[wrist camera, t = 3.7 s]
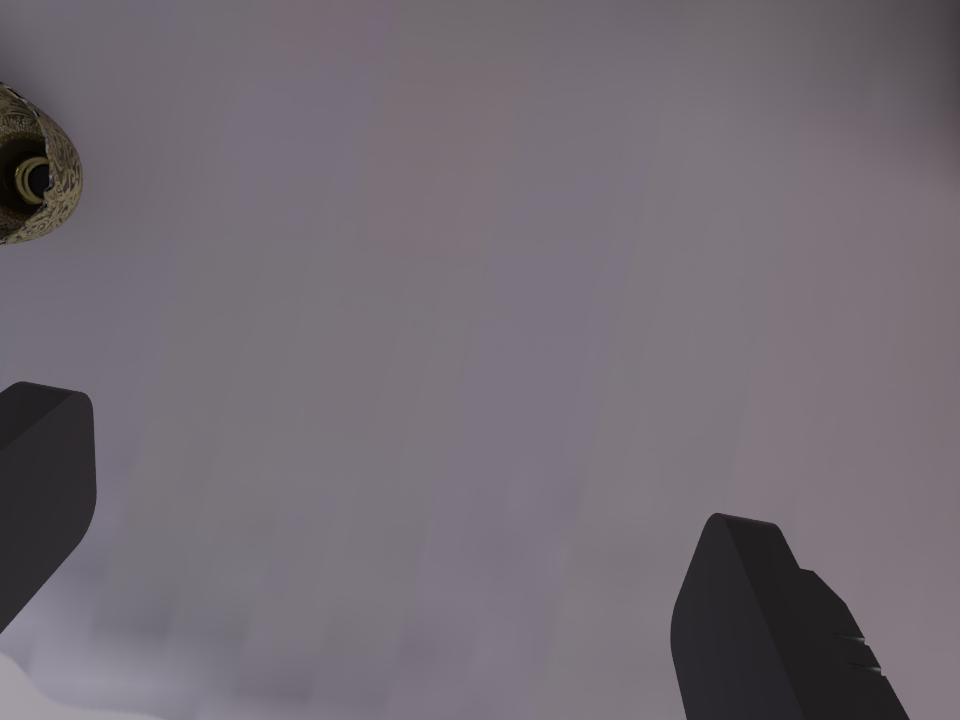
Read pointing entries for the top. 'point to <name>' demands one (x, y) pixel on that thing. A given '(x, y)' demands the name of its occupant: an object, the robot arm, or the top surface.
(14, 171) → the cup
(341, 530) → the top surface
